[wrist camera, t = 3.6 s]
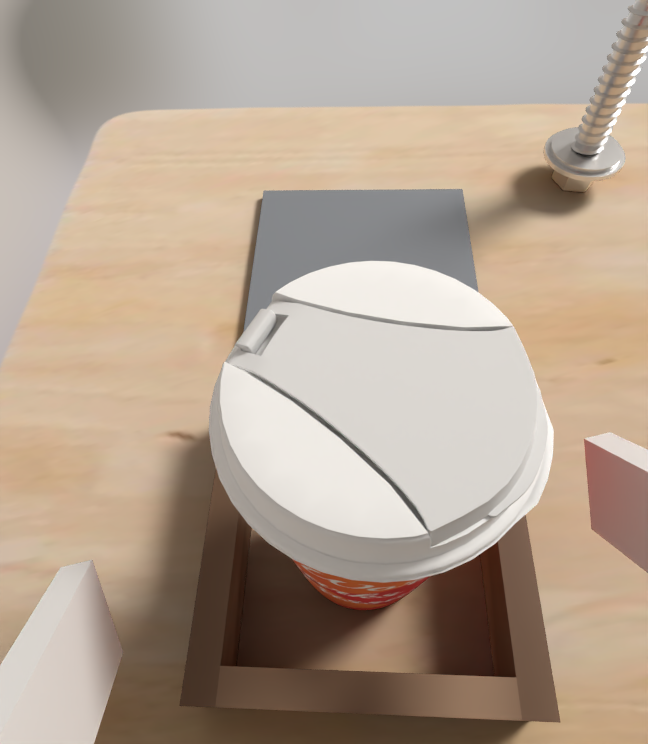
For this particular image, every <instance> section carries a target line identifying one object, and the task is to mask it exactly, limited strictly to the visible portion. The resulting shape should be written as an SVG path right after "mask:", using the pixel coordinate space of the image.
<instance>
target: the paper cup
mask: <svg viewBox="0 0 648 744" xmlns="http://www.w3.org/2000/svg"><path fill="white" fill-rule="evenodd" d="M553 432H554V430H553V427H552V424H551V422H550V419H549V416H548V414H547V411H546V408H545V406H544V403H543V400H542V396H541V392H540V389H539V387H538V385H537V382H536V379H535V374H534V371H533V369H532V366H531V364H530V361H529V359H528V356H527V353H526V351H525V349H524V347H523V345H522V343H521V341H520V339H519V336H518V334H517V332H516V330H515V328H514V327H513V325H512V324H511V322H510V321H509V320H508V318H507V317H506V316H505V315H504V314H503V313H502V312H501V311H500V310H499V309H498V308H497V307H496V306H495V305H494V304H493V303H492V302H490V301H489V300H488V299H486V298H485V297H484V296H482V295H481V294H479V293H478V292H477V291H475V290H474V289H472V288H471V287H469V286H467V285H465V284H463V283H462V282H460V281H458V280H456V279H454V278H452V277H449V276H447V275H444V274H442V273H440V272H437V271H435V270H431V269H427V268H424V267H420V266H416V265H412V264H405V263H399V262H390V261H363V262H350V263H345V264H340V265H335V266H330V267H327V268H323V269H320V270H317V271H314V272H311V273H309V274H306V275H304V276H302V277H300V278H298V279H296V280H294V281H292V282H290V283H288V284H287V285H285V286H284V287H282V288H281V289H279V290H277V291H276V292H275V293H274V294H273V295H272V302H271V303H270V305H269V306H268V307H267V309H260V311H259V312H258V313H257V315H256V316H255V317H254V319H253V320H252V322H251V323H250V324H249V326H248V327H247V328H246V330H245V331H244V333H243V334H242V335H241V337H240V338H239V339H238V341H237V342H236V344H235V346H234V348H233V350H232V351H231V353H230V354H229V356H228V358H227V359H226V361H225V363H223V365H222V369H221V372H220V374H219V376H218V379H217V381H216V384H215V387H214V392H213V396H212V401H211V405H210V417H209V436H210V444H211V452H212V457H213V460H214V463H215V466H216V470H217V473H218V476H219V479H220V481H221V483H222V485H223V487H224V489H225V491H226V492H227V494H228V496H229V498H230V500H231V502H232V504H233V505H234V506H235V507H236V509H237V510H238V511H239V513H240V514H241V515H242V517H243V518H244V519H245V521H246V522H247V523H248V525H250V526H251V527H252V528H253V529H254V530H255V531H256V532H257V533H258V534H259V535H260V536H261V537H262V538H264V539H265V540H266V541H267V542H268V543H269V544H270V545H272V546H273V547H275V548H276V549H278V550H279V551H281V552H282V553H284V554H286V555H287V556H289V557H290V558H291V559H292V560H293V562H294V563H295V564H296V566H297V567H298V568H299V570H300V571H301V572H302V573H303V575H304V576H305V577H306V578H307V580H308V581H309V582H310V583H311V584H312V585H313V587H314V588H315V589H316V590H317V591H318V592H320V593H321V594H322V595H323V596H325V597H326V598H327V599H329V600H331V601H332V602H334V603H336V604H338V605H340V606H343V607H346V608H350V609H355V610H373V609H378V608H382V607H385V606H388V605H391V604H393V603H395V602H397V601H398V600H400V599H401V598H403V597H405V596H406V595H407V594H409V593H410V592H411V591H413V590H414V589H415V588H416V587H418V586H419V585H420V584H421V583H423V582H424V581H425V580H426V579H428V578H429V577H430V576H433V575H436V574H440V573H444V572H446V571H449V570H451V569H453V568H455V567H457V566H460V565H462V564H464V563H466V562H468V561H471V560H472V559H474V558H475V557H477V556H478V555H480V554H481V553H482V552H484V551H485V550H487V549H488V548H490V547H491V546H493V545H494V544H495V543H496V542H497V541H498V540H499V539H500V538H501V537H502V536H503V535H504V534H505V533H506V532H507V531H508V530H509V529H510V528H511V527H512V526H513V525H514V524H515V523H516V522H518V521H519V520H520V519H521V518H522V517H523V516H524V515H526V514H527V513H528V512H529V511H530V510H531V509H532V508H533V507H535V506H536V505H537V504H538V502H539V499H540V497H541V494H542V492H543V490H544V487H545V485H546V483H547V480H548V476H549V471H550V467H551V462H552V457H553Z"/></svg>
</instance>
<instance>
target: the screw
mask: <svg viewBox="0 0 648 744" xmlns="http://www.w3.org/2000/svg"><path fill="white" fill-rule="evenodd" d="M628 10H629V11H630V13H629V15H628V17H627V18H624V19H623V20H622V24H623V25H624V26H623V28H622V30H620V31H618V32H617V33H616V34H617V37H618V40H617V42H615V43H613V44H612V48H613V49H614V50H613V52H612V54H609V55H608V56H607V60H608V61H609V62H608V64H607V65H605V66H603V68H602V70H603V71H604V74H603V75H602V76H600V77H599V78H598V81H599V83H600V84H599V86H596V87H595V88H594V92H595V95H594V96H592V97H591V98H590V102H591V105H589V106H588V107H586V112H587V114H586V115H584V116H583V117H582V121H583V124H581V125H579V127H575V128H569V129H566V130H563V131H560V132H558V133H556V134H554V135H552V136H551V137H550V138H549V139H548V141H547V142H546V144H545V147H544V152H543V153H544V158H545V160H546V162H547V163H548V164H549V165H550V167H551V168H553V169H554V171H553V174H552V176H551V178H552V179H553V180H554V181H555V182H556V183H557V184H558V185H559V186H560V187H561V188H562V190H564V191H578V192H586V191H587V190H588V188H589V187H590V186H591V185H592V183H593V182H594V181H601V180H605V179H609V178H611V177H613V176H615V175H616V174H617V173H619V171H620V170H621V169H622V167H623V165H624V162H625V153H624V151H623V149H622V147H621V146H620V144H619V143H618V142H617V141H616V140H615V139H614V138H613V137H612V136H610V135H608V134H609V133H611V131H612V129H613V126H612V125H613V124H615V123H616V121H617V115H618V114H620V112H621V109H622V108H621V106H622V105H623V104H624V103H625V102H626V95H628V94H629V93H630V91H631V86H630V85H632V84H633V83H634V82H635V80H636V76H635V75H636V74H637V73H638V72H639V71H640V70H641V64H640V63H642V62H643V61H644V60H645V59H646V51H648V0H636V2H635V3H634V5H632V6H629V7H628Z"/></svg>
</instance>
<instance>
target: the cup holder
mask: <svg viewBox="0 0 648 744" xmlns="http://www.w3.org/2000/svg"><path fill="white" fill-rule="evenodd" d="M250 536H251V526H250V525H248V523H247V522H246V521H245V519H244V518H243V517H242V515H241V514H240V513H239V511H238V510H237V509H236V507H235V506H234V505H233V504H232V502H231V500H230V498H229V496H228V494H227V492H226V491H225V489H224V487H223V485H222V483H221V481H220V479H219V476H218V473H217V470H215V477H214V483H213V490H212V496H211V503H210V509H209V516H208V523H207V529H206V536H205V542H204V549H203V555H202V562H201V569H200V575H199V582H198V588H197V595H196V601H195V608H194V615H193V621H192V628H191V634H190V641H189V647H188V654H187V661H186V667H185V674H184V680H183V687H182V693H181V700H180V706H195V707H218V708H241V709H264V710H287V711H310V712H333V713H356V714H379V715H402V716H425V717H448V718H471V719H494V720H517V721H540V722H560V717H559V711H558V705H557V699H556V693H555V687H554V681H553V675H552V669H551V664H550V658H549V652H548V646H547V640H546V634H545V628H544V622H543V616H542V610H541V604H540V598H539V592H538V586H537V580H536V574H535V568H534V562H533V556H532V551H531V545H530V539H529V533H528V527H527V521H526V515H524V516H523V517H522V518H521V519H520V520H519V521H518V522H516V523H515V524H514V525H513V526H512V527H511V528H510V529H509V530H508V531H507V532H506V533H505V534H504V535H503V536H502V537H501V538H500V539H499V540H498V541H497V542H496V543H495V544H494V545H493V546H491V547H490V548H488V549H487V550H485V551H484V552H482V553H481V554H480V558H481V567H482V575H483V584H484V592H485V601H486V609H487V618H488V626H489V635H490V643H491V652H492V660H493V669H494V677H490V676H465V675H439V674H414V673H389V672H363V671H338V670H312V669H287V668H262V667H236V666H237V657H238V647H239V638H240V629H241V619H242V610H243V601H244V592H245V582H246V573H247V564H248V554H249V545H250Z"/></svg>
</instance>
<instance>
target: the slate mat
mask: <svg viewBox="0 0 648 744" xmlns="http://www.w3.org/2000/svg"><path fill="white" fill-rule="evenodd" d="M363 261H390V262H399V263H405V264H412V265H416V266H420V267H424V268H427V269H431V270H435V271H437V272H440V273H442V274H444V275H447V276H449V277H452V278H454V279H456V280H458V281H460V282H462V283H463V284H465V285H467V286H469V287H471V288H472V289H474V290H475V291H477V292H478V287H477V280H476V274H475V267H474V261H473V255H472V248H471V242H470V235H469V229H468V222H467V216H466V210H465V203H464V197H463V190H462V189H426V190H292V191H264V192H263V199H262V206H261V213H260V220H259V227H258V234H257V241H256V248H255V255H254V262H253V269H252V276H251V283H250V290H249V297H248V304H247V311H246V318H245V325H244V331H245V330H246V328H247V327H248V326H249V324H250V323H251V322H252V320H253V319H254V317H255V316H256V315H257V313H258V312H259V311H260V309H267V307H268V306H269V305H270V303H271V302H272V295H273V294H274V293H275V292H276V291H277V290H279V289H281V288H282V287H284V286H285V285H287V284H288V283H290V282H292V281H294V280H296V279H298V278H300V277H302V276H304V275H306V274H309V273H311V272H314V271H317V270H320V269H323V268H327V267H330V266H335V265H340V264H345V263H350V262H363ZM243 333H244V332H243Z"/></svg>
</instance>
